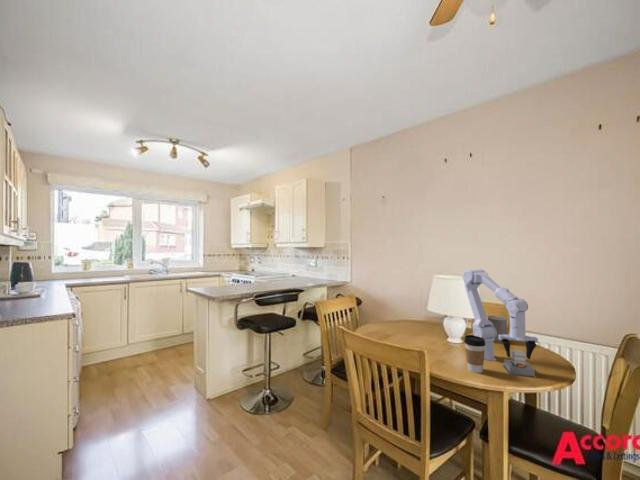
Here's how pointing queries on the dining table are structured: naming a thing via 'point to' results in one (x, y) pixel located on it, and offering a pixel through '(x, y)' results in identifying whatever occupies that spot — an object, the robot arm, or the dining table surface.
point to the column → (518, 357)
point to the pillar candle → (499, 326)
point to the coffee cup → (474, 353)
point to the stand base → (519, 369)
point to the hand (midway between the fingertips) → (518, 357)
